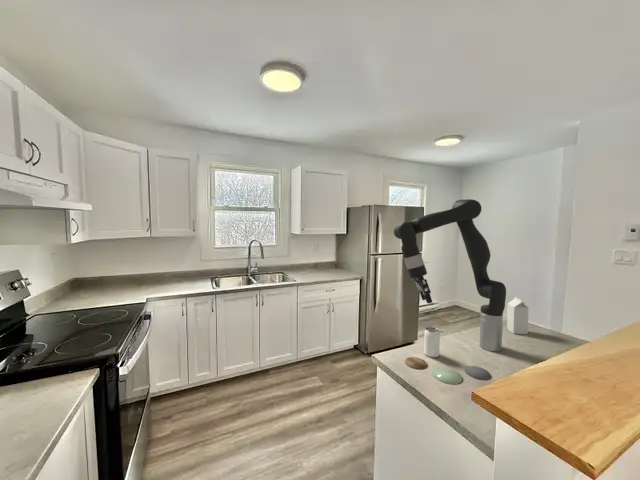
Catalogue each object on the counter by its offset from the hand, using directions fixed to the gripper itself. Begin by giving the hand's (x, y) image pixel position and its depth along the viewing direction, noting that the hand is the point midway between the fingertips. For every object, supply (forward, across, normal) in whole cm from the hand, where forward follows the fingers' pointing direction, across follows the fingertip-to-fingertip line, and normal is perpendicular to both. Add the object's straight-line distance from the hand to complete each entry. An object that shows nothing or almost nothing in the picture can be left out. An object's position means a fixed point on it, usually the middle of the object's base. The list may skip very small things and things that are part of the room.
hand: (427, 301), depth 119 cm
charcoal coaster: (+32, -5, -9) cm, 34 cm away
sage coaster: (+28, -9, +4) cm, 30 cm away
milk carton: (+40, +42, -49) cm, 76 cm away
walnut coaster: (+25, 0, +13) cm, 28 cm away
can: (+26, +9, +4) cm, 28 cm away
